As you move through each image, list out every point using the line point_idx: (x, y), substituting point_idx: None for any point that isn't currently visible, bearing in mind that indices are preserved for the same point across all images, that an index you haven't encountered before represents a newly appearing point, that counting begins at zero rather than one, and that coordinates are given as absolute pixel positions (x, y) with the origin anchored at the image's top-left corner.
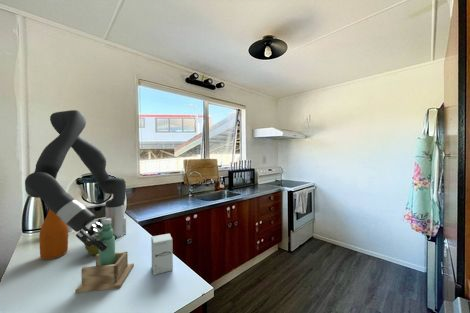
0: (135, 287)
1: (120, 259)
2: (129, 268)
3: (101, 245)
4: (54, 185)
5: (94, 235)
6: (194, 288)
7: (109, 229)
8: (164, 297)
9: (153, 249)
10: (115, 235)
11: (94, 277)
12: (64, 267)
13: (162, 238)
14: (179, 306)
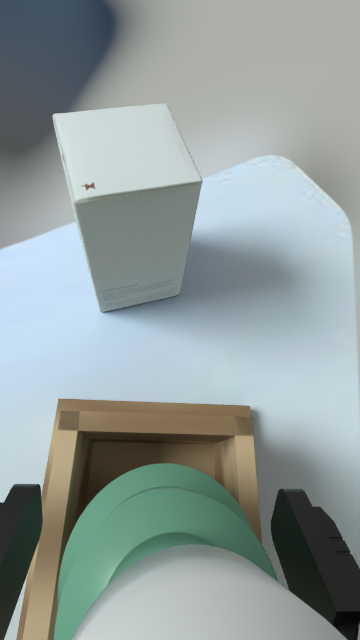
0: (249, 347)
1: (176, 420)
2: (109, 407)
3: (344, 546)
4: None
5: None
6: (273, 180)
7: (208, 543)
8: (308, 250)
9: (192, 216)
10: (18, 508)
11: None
12: None
13: (145, 141)
14: (344, 215)
